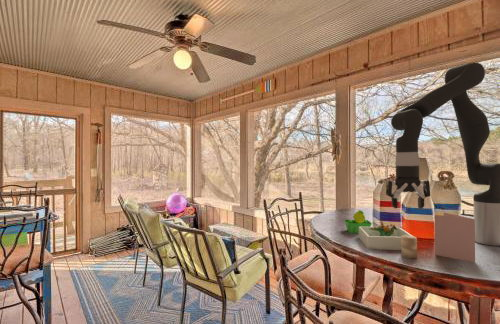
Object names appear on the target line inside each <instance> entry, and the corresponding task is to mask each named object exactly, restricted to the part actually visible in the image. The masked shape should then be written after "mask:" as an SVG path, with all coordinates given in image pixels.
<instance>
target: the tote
mask: <svg viewBox="0 0 500 324" xmlns="http://www.w3.org/2000/svg"><path fill="white" fill-rule="evenodd" d="M374 227H376V228H378V227H379V226H371V227H359V233H358V238H359V239H360V241H361V242H362V243H363V244H364V246H365V247H366V248H367V250H387V251H391V250H392V251H401V236H403V235H409V236H413V235H412V234H410V233H409V232H407V231H406V230H405V229H403V228H401V226H397V227H396V226H395V227H396V228H397V230H395V229H394V234H392V235H391V236H390V237H387V236H379V235H380V233H379V232H378V231H375V230H370V228H374ZM392 227H393V226H392ZM392 227H391V226H389V227H388V228H389V229H390V230H391V228H392Z"/></svg>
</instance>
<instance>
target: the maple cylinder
mask: <svg viewBox="0 0 500 324" xmlns="http://www.w3.org/2000/svg"><path fill="white" fill-rule="evenodd" d="M400 251H401V252H400V253H401V257H403V258H407V259H412V260H413V259H417V258H418V238H417V237H416V236H414V235H412V236H409V235H403V236H401V250H400Z"/></svg>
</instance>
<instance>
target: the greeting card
mask: <svg viewBox="0 0 500 324" xmlns="http://www.w3.org/2000/svg"><path fill="white" fill-rule="evenodd" d="M433 218H434V255H435V256H439V257H444V258H450V259H455V260H460V261H465V262H470V263H476V241H475V219H474V218H471V217H466V216H462V215H457V214H451V213H448V212H443V215H442V214H441V215H439V214H434V217H433Z"/></svg>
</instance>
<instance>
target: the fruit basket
mask: <svg viewBox="0 0 500 324" xmlns="http://www.w3.org/2000/svg"><path fill="white" fill-rule="evenodd" d="M364 213H365V212H364V211H363V210H357V211H356V212H355V213H354V214H353V217H352V219H344V223H345V226H346V229H347V231H348V232H349V233H351V234H354V233H355V234H359V227H372V222H371V221H369V220H367V219H366V216H365V214H364Z"/></svg>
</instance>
